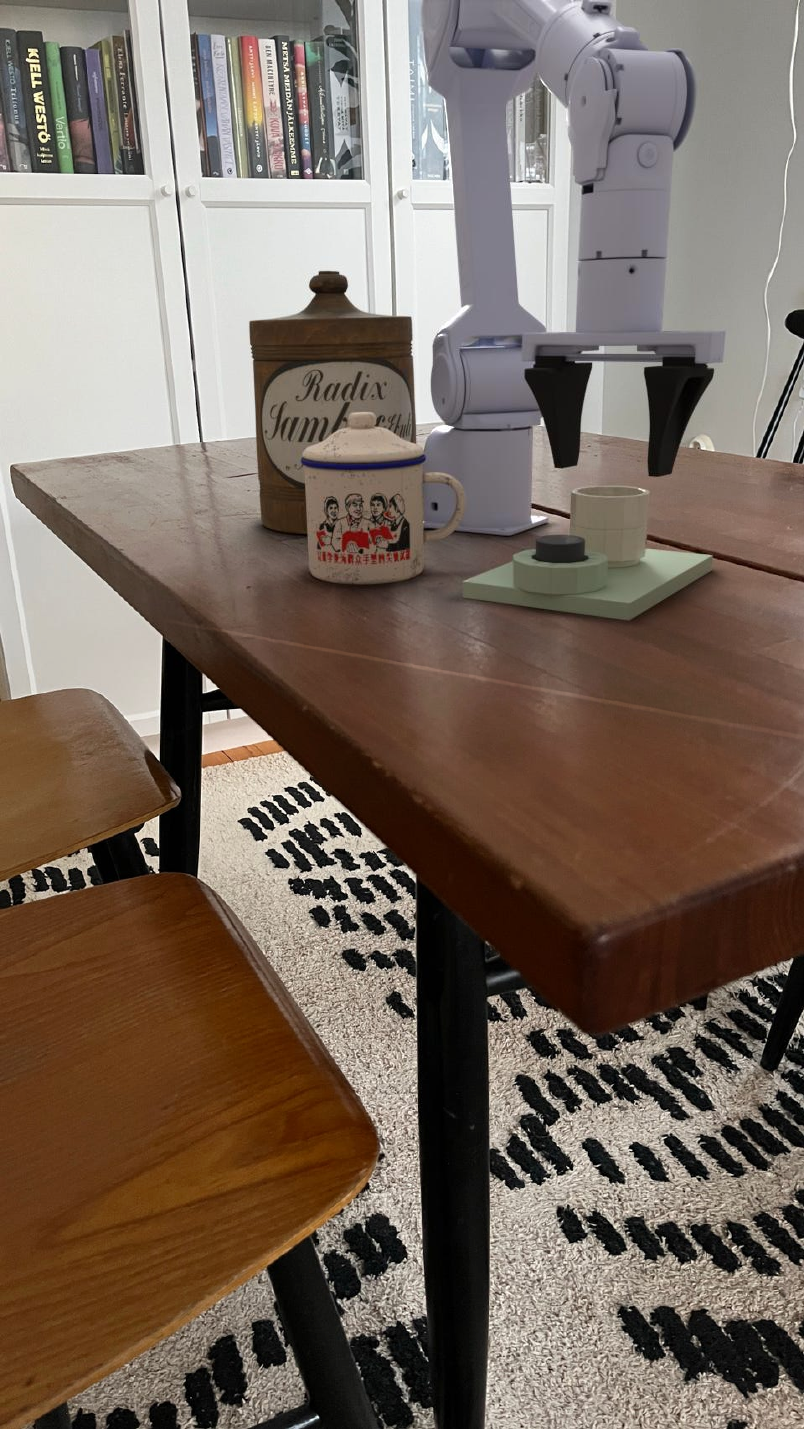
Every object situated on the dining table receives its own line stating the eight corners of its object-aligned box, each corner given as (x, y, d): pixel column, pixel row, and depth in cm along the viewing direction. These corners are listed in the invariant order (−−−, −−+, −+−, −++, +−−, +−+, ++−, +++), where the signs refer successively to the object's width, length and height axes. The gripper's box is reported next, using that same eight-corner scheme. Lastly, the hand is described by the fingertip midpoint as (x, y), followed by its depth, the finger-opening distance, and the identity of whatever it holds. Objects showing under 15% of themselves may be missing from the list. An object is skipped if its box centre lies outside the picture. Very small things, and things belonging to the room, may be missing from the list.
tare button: (571, 569, 68) (572, 545, 67) (526, 564, 69) (527, 541, 69) (592, 560, 70) (593, 537, 70) (548, 555, 72) (549, 533, 71)
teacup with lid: (302, 588, 75) (293, 419, 71) (310, 561, 84) (303, 409, 80) (469, 584, 75) (470, 416, 71) (461, 558, 84) (461, 406, 80)
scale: (625, 623, 65) (628, 576, 64) (458, 600, 71) (458, 556, 70) (711, 571, 78) (715, 530, 77) (563, 555, 84) (564, 517, 83)
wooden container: (265, 540, 92) (247, 267, 85) (258, 512, 106) (242, 275, 98) (431, 531, 95) (428, 265, 87) (403, 505, 108) (399, 273, 101)
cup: (554, 562, 76) (556, 492, 75) (595, 550, 80) (598, 483, 78) (619, 572, 73) (623, 499, 71) (659, 559, 77) (663, 489, 75)
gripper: (753, 257, 68) (734, 472, 72) (563, 267, 77) (557, 457, 82) (701, 253, 63) (684, 484, 68) (505, 265, 72) (502, 468, 77)
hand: (611, 471), depth 74 cm, fingers open, 7 cm apart
